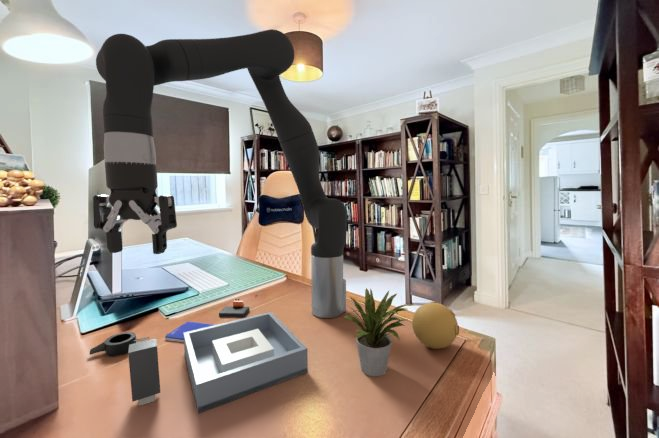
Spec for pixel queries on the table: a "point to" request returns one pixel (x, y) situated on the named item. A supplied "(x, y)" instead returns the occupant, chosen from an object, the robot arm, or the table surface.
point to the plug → (144, 371)
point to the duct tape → (117, 344)
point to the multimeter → (235, 310)
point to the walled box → (241, 358)
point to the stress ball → (435, 325)
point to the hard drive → (184, 330)
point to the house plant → (375, 333)
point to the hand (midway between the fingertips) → (137, 252)
